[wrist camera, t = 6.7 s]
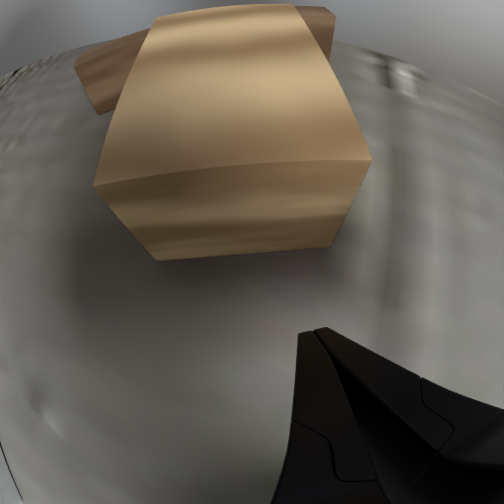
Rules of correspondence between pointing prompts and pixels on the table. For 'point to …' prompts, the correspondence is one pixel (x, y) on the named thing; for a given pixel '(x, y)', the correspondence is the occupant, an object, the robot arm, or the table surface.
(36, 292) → the table surface
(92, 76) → the walnut board
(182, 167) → the oak block
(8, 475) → the small box
